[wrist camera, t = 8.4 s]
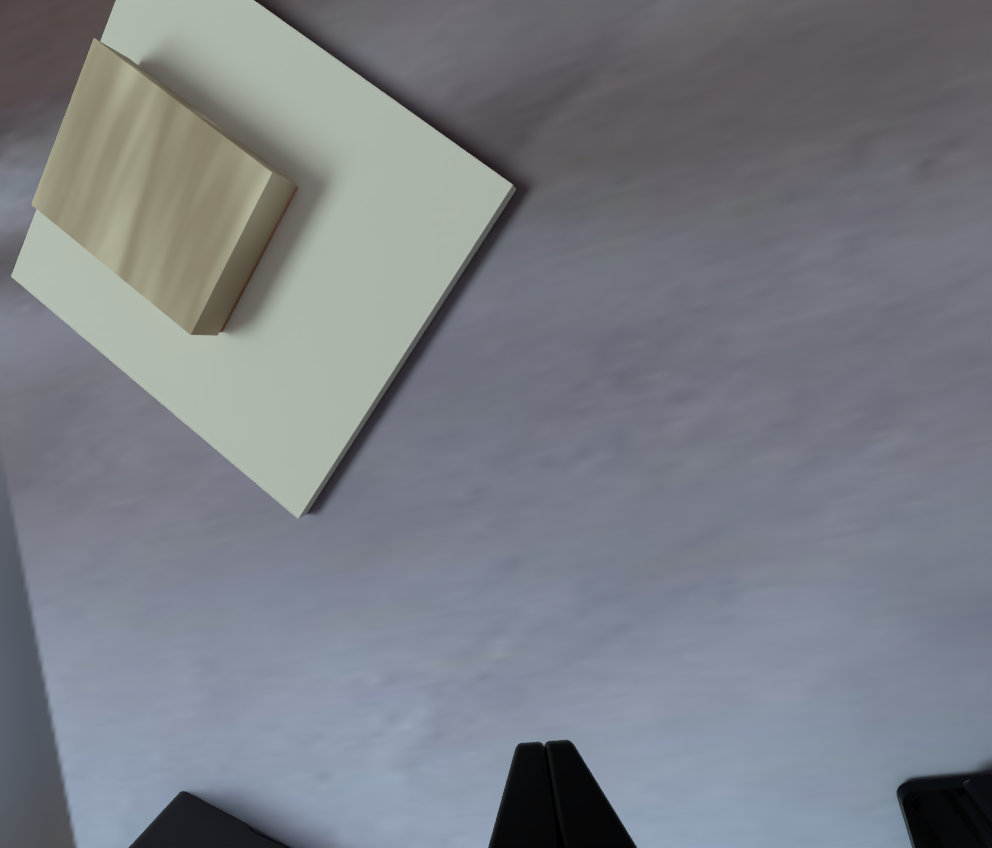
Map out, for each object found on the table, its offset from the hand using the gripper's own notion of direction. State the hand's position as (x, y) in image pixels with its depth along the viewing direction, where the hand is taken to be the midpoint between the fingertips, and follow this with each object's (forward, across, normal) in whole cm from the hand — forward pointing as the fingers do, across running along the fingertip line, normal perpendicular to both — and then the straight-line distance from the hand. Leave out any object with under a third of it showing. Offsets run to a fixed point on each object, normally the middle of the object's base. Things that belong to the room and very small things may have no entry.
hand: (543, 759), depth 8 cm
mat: (+18, +11, -8) cm, 22 cm away
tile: (+16, +10, -7) cm, 20 cm away
